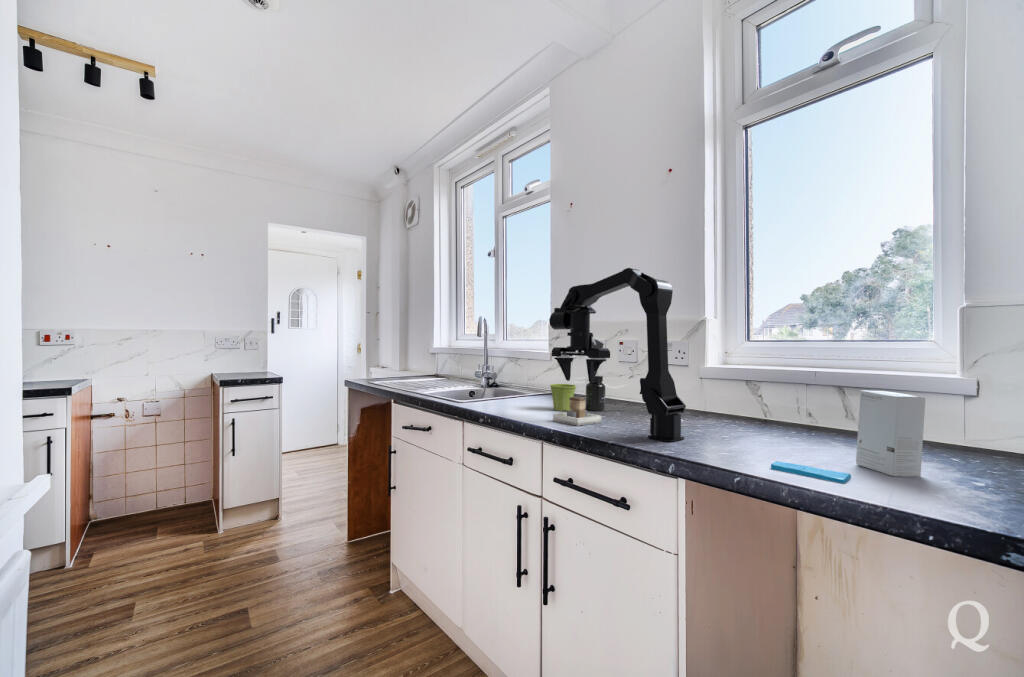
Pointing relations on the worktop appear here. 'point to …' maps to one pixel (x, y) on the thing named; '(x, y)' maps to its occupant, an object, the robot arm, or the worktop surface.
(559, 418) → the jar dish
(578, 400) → the wooden block
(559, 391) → the plant pot
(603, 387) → the supplement bottle
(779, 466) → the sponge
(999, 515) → the worktop surface
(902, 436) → the skincare box
